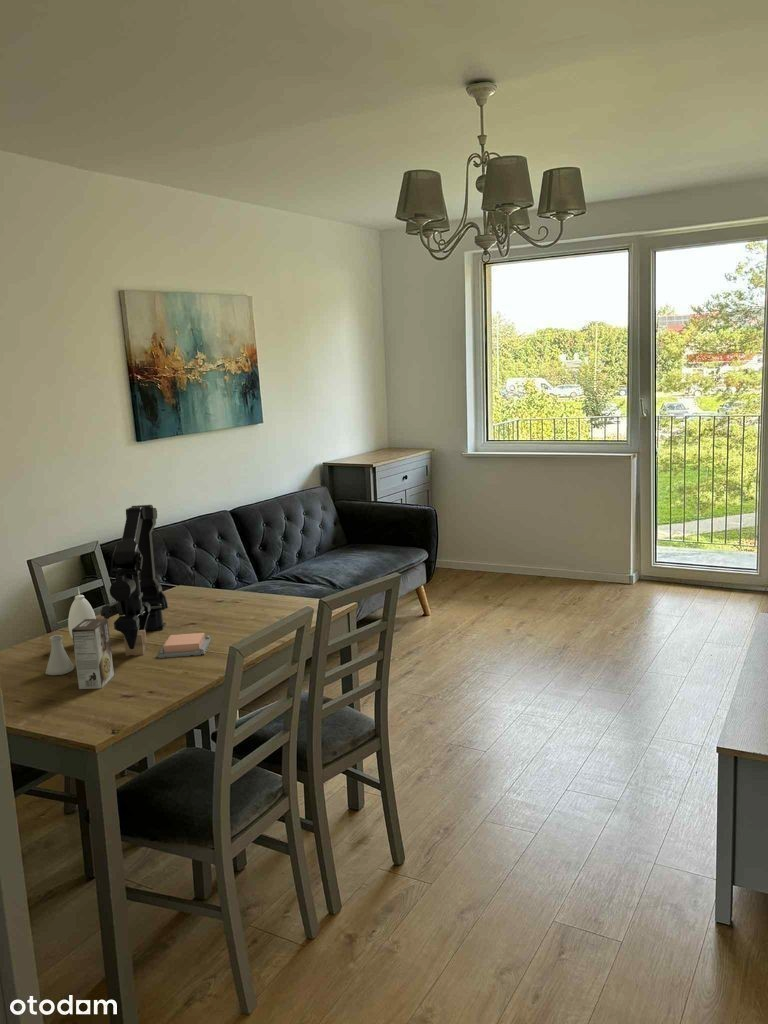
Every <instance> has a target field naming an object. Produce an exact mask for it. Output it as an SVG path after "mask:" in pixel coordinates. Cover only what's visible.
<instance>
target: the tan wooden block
mask: <svg viewBox="0 0 768 1024" xmlns="http://www.w3.org/2000/svg"><path fill="white" fill-rule="evenodd" d="M146 632H147V631H145V630H139V631H138V635H137V639H136V643H135V647H134V649H130V648H129V646H128V643H127V641H126V639H125V636H124V635H123V640H124V652H125V656H126V657H130V656H129V655H134V656H143V655H145V654H146V652H147V650H148V643H147V642H148V641H147V633H146Z"/></svg>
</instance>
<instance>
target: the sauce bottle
mask: <svg viewBox="0 0 768 1024" xmlns="http://www.w3.org/2000/svg"><path fill="white" fill-rule="evenodd" d="M85 619H97V617H96V614H95V611H94V609H93V607H92V605H91V604H90V602H89V601H88V600H87V599H86V598H85V595H83V594H81V593H80V588H79V587H77V595H75V596H74V600H73V602H72V603H71V606H70V608H69V613H68V620H67V622H68V623H67V624H68V625H67V627H68V632H69V635H70V637H71V639H72V640H73V635H72V629H73V628H75V627H76V626H77V625H78V624H80V623H81V622H82V621H83V620H85Z"/></svg>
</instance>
